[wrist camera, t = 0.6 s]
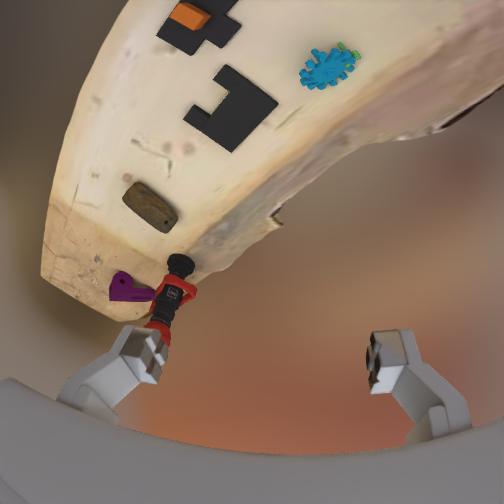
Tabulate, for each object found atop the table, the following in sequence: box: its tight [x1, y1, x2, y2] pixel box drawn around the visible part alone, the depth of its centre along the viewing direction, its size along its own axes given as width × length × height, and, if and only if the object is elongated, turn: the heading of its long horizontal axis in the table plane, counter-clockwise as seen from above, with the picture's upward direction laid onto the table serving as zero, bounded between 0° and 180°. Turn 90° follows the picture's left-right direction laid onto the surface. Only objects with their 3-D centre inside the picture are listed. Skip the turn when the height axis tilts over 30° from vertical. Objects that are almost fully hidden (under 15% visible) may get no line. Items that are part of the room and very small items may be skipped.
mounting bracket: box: [109, 272, 156, 302], centre depth 103 cm, size 9×8×18 cm
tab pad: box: [156, 0, 242, 56], centre depth 33 cm, size 14×12×6 cm
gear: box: [299, 42, 361, 90], centre depth 37 cm, size 11×6×10 cm
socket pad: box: [183, 64, 278, 153], centre depth 48 cm, size 14×12×2 cm
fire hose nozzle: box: [143, 254, 197, 347], centre depth 81 cm, size 10×28×25 cm
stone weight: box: [122, 183, 178, 234], centre depth 67 cm, size 15×7×7 cm, turn 47°
